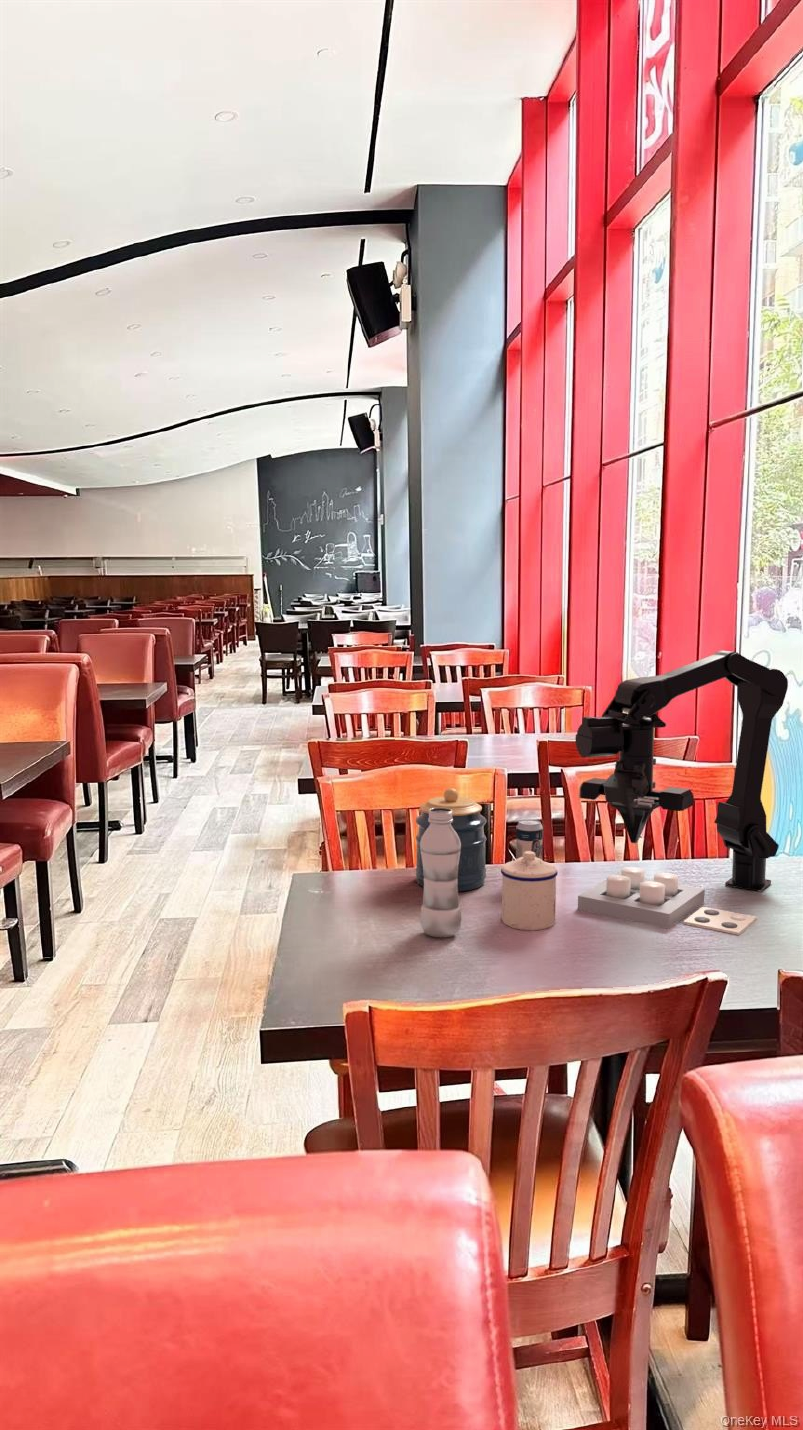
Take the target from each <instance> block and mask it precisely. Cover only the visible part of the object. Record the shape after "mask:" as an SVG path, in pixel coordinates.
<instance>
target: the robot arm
mask: <svg viewBox="0 0 803 1430" xmlns="http://www.w3.org/2000/svg"><path fill="white" fill-rule="evenodd" d="M721 679H725V680H726V681H727V682H728V683H731V684H732V685H734V686H735V687H736V688H737V689H736V690H737V693H736V695H737V696H736V697H737V701H738V706H739V708H740V710H741V713H742V722H741V727H740V735H739V742H738V750H737V757H736V763H735V770H734V777H733V784H732V791H731V793H730V795H729V797H728V798H727V799H726V801H725V802H724V801H723V802H722V801H718V803H717V806H716V807H717V808H716V809H717V811H716V812H717V813H716V817H715V819H714V821H713V823H714V824H716V829H717V831H716V832H717V833H718V834H719V836H720V838H722V842H723V844H724V847H725V848H728V849H731V850H732V867H731V868H732V869H731V871H732V872H731V873H732V874H731V878H729V879H728V880H727V881H725V884H724V885H725V886H729V887H735V888H740V889H745V890H752V891H757V892H763V891H764V890H765V889H766V888H767V887H769V885H770V884H772V880H771V879H766V873H767V872H766V869H767V859H769V858H772V857H775V856H777V852H778V850H779V844H778V842H776V840H775V839H774V838H773V837H772V836H771V835H770V834H769V833H768V832H767V813H766V810H765V808H764V805H763V802H762V799H761V798H762V797H761V796H762V791H763V784H764V775H765V771H766V770H765V769H766V763H767V756H768V750H769V744H770V743H769V742H770V736H771V729H772V721H773V719H774V718H775V716H776V715H777V713H778V712H779V710H781V708H782V706H783V705H784V702H785V698H786V694H787V692H788V689H789V680H788V677H786V676H785V674H784V672H782V671H781V670H780V669H777V668H770V667H767V666H765V665H762V664H760V663H757V662H755V661H753V660H751V659H748V658H747V657H745V656H743V655H742V654H740V653H739V652H736V651H730V650H718V651H716V652H715V653H713V654H711V655H709V656H707V657H704V658H702V659H699V660H696V661H694V662H691V663H689V664H686V665H683V666H681V667H679V668H676V669H673V670H670V671H669V672H666V673H663V674H659V675H653V676H643V677H641V676H640V677H637V678H631V679H627V680H623V681H622V682H620V683H619V684H618V685H617V689H616V690H615V694H614V696H613V698H612V699H611V701H610V703H609V704H608V706H607V707H606V708H605V710H604V712H603V713H602V715H601V716H600V717H599V716H598V717H597V716H596V717H595V716H594V717H592V716H583V717H582V719H581V720H582V721H581V722H582V723H581V724H580V725H579V727H578V729H577V731H576V734H575V739H574V740H575V746H576V749H577V752H578V754H579V756H580V757H582V758H598V757H600V758H601V757H612V756H614V757H615V756H616V755H618V753H619V755H618V759H617V760H616V761H615V765H614V767H615V768H614V771H613V773H611V774H610V775H609V776H608V778H607V779H605V778H597V777H594V778H591V779H588V780H585V781H583V782H582V783H581V784H580V786H579V797H578V798H580V799H585V800H592V801H594V800H597V799H598V798H599V797H600V796H604V799H605V802H607V803H609V806H610V807H612V808H614V809H615V810H616V811H617V812H618V813H619V814H620V816H621V818H622V821H623V823H624V826H625V829H626V832H627V835H628V837H629V838H628V839H629V840H630V843H631V844H637V843H638V841H639V840H640V837H641V835H642V833H643V831H644V829H645V826H646V824H647V822H648V819H649V818H650V817H651V815H652V813H653V812H654V810H655V809H658V808H660V807H661V808H662V809H663V810H667V811H675V812H683V811H685V810H687V809H689V808H690V807H691V808H692V807H693V806H694V797H695V796H694V793H693V791H692V790H691V789H690V788H682V787H673V786H671V787H668V788H666V789H664V790H663V789H662V790H654V789H656V781H654V766H656V765H657V758H654V747H655V746H654V745H655V728H656V729H659V728H665V727H666V726H667V724H666V722H665V721H664V720H662V719H661V718H660V716H659V715H658V714H657V713H658V712H659V711H661V710H663V709H664V708H666V707H667V706H668V705H669V704H670V702H672V701H673V700H675V698H677V697H678V696H681V695H683V694H686V693H688V692H691V691H694V690H697V689H699V688H701V687H704V686H706V685H708V684H711V683H714V682H718V681H719V680H721Z"/></svg>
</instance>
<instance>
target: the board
mask: <svg viewBox="0 0 803 1430" xmlns="http://www.w3.org/2000/svg"><path fill="white" fill-rule="evenodd" d="M615 875H620V876H621V873H616V874H615ZM646 881H653V882H654V879H651V878H645V880H644V882H646ZM705 890H706V889H705V888H702V887H701V888H700V887H696V886H691V885H685V884H679V883H678V894H677V895H676V896H674V897H671V896H666V895H664V904H662V905H661V906H655V905H650V904H645V903H640V902H639V898H640V891H639V890H634V889H630V897H629V898H627V899H620V898H615V897H610V896H606V879H605V880H603V881H602V882H600V883H598V884H597V885H595V886H593V887H591V888H589V889H588V890H587V889H586V891H584V892H582V893H580V894H578V895H577V910H579V911H583V912H588V913H592V914H593V913H594V914H598V915H603V916H606V917H607V916H608V917H612V918H616V919H621V920H626V921H631V922H636V923H639V924H640V923H641V924H646V925H651V926H656V927H660V928H664V929H671V928H672V927H673V926H674V925H676V924H677V923H679V922H680V921H681V920H683V919H684V918H686V917H687V916H688V915H689V914H690V913H691V914H692V912H694V911H695V910H696V909H697V908H699V907H701V906H702V904H704V903H705Z"/></svg>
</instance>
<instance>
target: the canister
mask: <svg viewBox="0 0 803 1430" xmlns="http://www.w3.org/2000/svg"><path fill="white" fill-rule="evenodd" d="M443 793H444V794H443V796H437V797H435V796H434V797H432V798H429V799H428V800H427V801H426V802H424V803H423V804H421V805H420V807H419V809H420V811H422V812H421V814H419V815H418V816H417V817H416V818H415V823H416V825H417V826H418V832H417V835H416V836H415V840H416V868H415V877H416V880H417V884H418V885H419V886H421V887H422V888H424V875H423V863H422V856H421V849H420V841H421V837H422V836H423V834H424V833H425V831H426V830H427V828H428V827H429V826H430V823H429V822H428V818H429V810H430V809H432V808H449V809H451V810H452V818H453V822H452V823H451V826H452V827H453V829H454V830H455V831H456V833H457V835H458V836H459V839H460V842H461V850H460V858H459V865H458V877H457V879H458V882H457V887H458V892H466V891H471V890H476V889H479V888H481V887H482V886H483V885H484V884H485V883H486V877H487V868H486V841H487V837H486V835H485V832H484V826H485V825H486V823H487V819H486V817H485V816H483V815H482V814H481V812H482V809H483V807H482V805H481V804H479V803H478V802H475V800H474V799H472V798H470V797H466V796H459V793H458V791H457V790H456V789H455V788H451V787H450V788H449V787H448V788H447V789H445V791H444V792H443Z"/></svg>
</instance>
